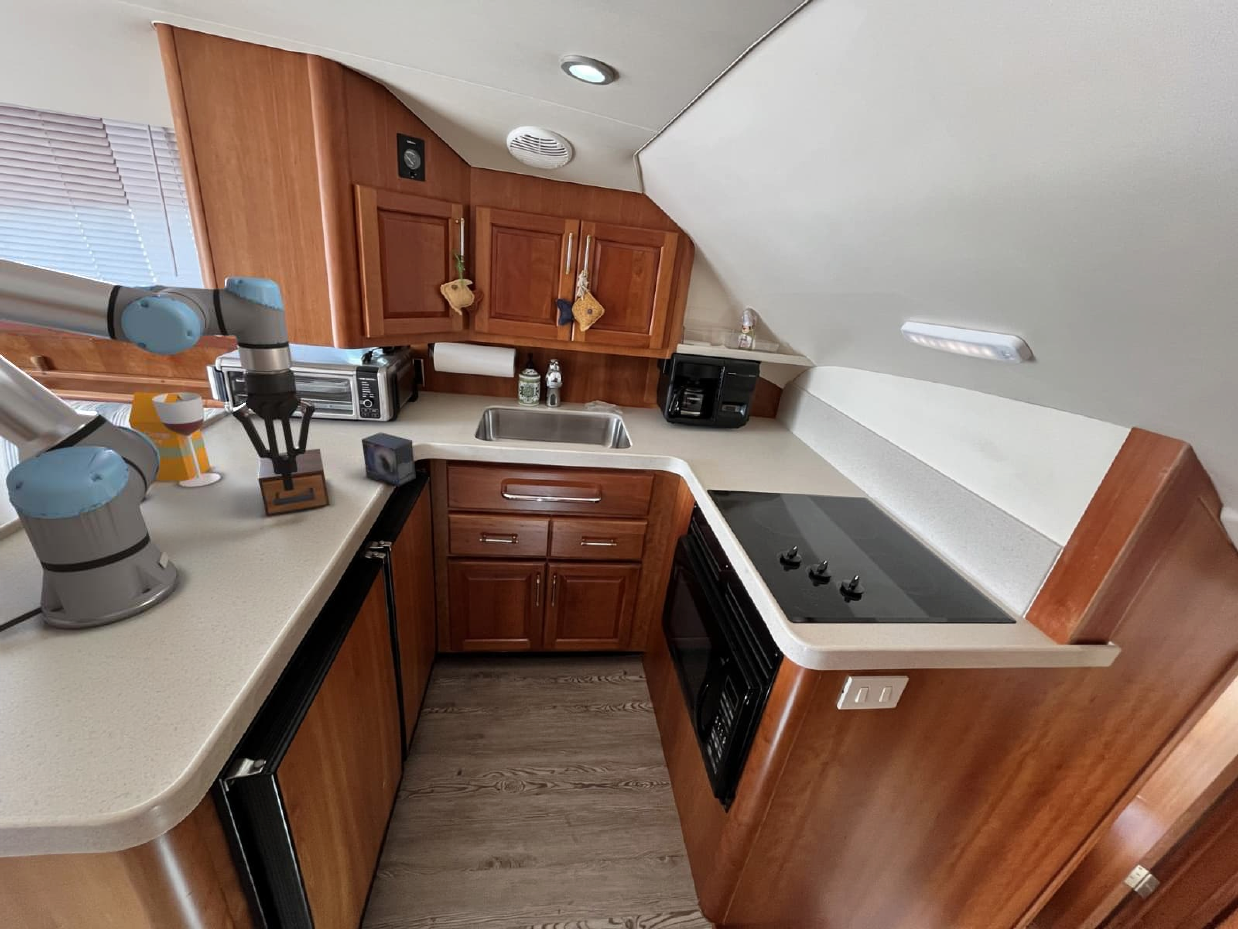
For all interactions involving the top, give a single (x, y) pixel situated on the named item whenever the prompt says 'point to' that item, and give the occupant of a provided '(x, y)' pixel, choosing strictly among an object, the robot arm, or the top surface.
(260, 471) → the cabinet
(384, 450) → the small box
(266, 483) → the drawer
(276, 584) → the top surface
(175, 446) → the orange juice
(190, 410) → the wineglass
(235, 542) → the top surface
